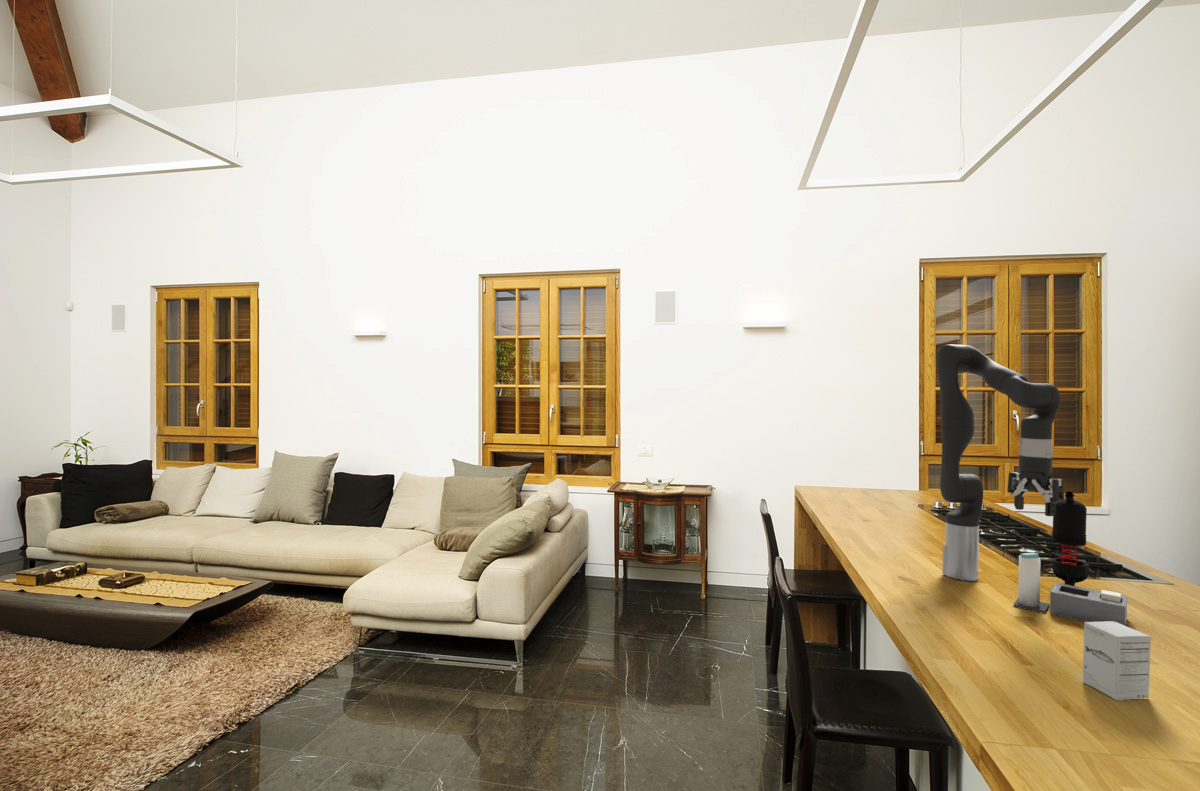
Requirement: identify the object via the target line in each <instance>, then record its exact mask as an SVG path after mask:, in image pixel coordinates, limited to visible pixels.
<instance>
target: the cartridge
mask: <svg viewBox="0 0 1200 791" xmlns="http://www.w3.org/2000/svg"><path fill="white" fill-rule="evenodd" d="M1039 555H1040V554H1039V553H1035V552H1024V553H1023V552H1021V553H1020V555H1018V593H1017V594H1018V596H1017V599H1018V602H1019V603H1020V604H1022V605H1026V606H1031V607H1039V606H1040V602H1041V601H1040V599H1041V598H1040V597H1041V596H1040V594H1041V558H1040V556H1039Z"/></svg>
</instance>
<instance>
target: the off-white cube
mask: <svg viewBox="0 0 1200 791" xmlns="http://www.w3.org/2000/svg"><path fill="white" fill-rule="evenodd" d="M1100 591H1101V599H1106V600H1111V601H1116V602H1121V595H1122V593H1121V592H1117V591H1110V590H1105V589H1101V590H1100Z"/></svg>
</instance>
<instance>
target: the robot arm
mask: <svg viewBox="0 0 1200 791" xmlns="http://www.w3.org/2000/svg"><path fill="white" fill-rule="evenodd" d="M935 362H936V363H935V364H936V372H937V378H938V385H939V398H940V431H941V434H940V435H941V464H940V476H939V477H940V480H939V488H940V494H941V496H942V498H943V500H944V501H945V502H947V503H956V504H957V503H959V506H958V507H957V508H955V509H953V510H951V511H948V512H946V514H945V525H944V526H945V527H944V530H945V534H944V536H945V537H944V538H945V539H944V544H943V546H942V576H945V575H946V576H945V577H948V578H951V579H955V580H958V579H959V580H960V581H965V580H966V581H968V582H971V581H972V582H974V581H977V580H978V579H979V551H980V550H979V546H980V545H979V544H980V542H979V539H980V521H981V518H982V513H983V504H984V503H983V502H984V501H983V500H984V485H983V481H982V480H981V478H980V477H979V476H978V475H976V474H973V473H960V462H961V458H962V456H963V455H964V452H965V451H966V449H967V447H968V446H969V444H970V443H971V441H972V439H973V438H974V434H975V415H974V414H975V413H974V411H973V408H972V405H970V403H969V401H968V400H967V398H966V397H965V395H964V393H963V391H962V390H961V387H960V384H959V373H960V374H965V373H967V374H973V375H977V376H980V377H981V378H982V379H983V380H984V382H985V383H986V384H987V385H988V386H989V387H990V388H991V389H994V391H995V390H996V391H997V392H1000V393H1001V394H1003V395H1006V396H1007V398H1009V399H1010V400H1011V401H1012V402H1013V403H1014V404H1015V405H1017V406H1019V407H1021V408H1024V409H1034V410H1033V411H1032V414H1031V415H1030V416H1026V417H1024V418H1022V419H1021V422H1020V438H1019V439H1020V440H1019V446H1018V471H1019V472H1018V471H1015V472H1014V471H1012V472H1011V471H1010V472H1008V479H1007V480H1008V481H1007V493H1010V494H1012V495H1013V496H1014V503H1013V504H1014V508H1015V510H1018V511H1019V510H1020V511H1021V510H1024V507H1025V506H1024V505H1025V496H1024V495H1025V494H1026V493H1027V492H1028V491H1032V492H1036V493H1038V494H1040V496H1042V497H1043V498H1044V500H1045V501H1046V502H1044V503H1045V504H1044V508H1045V509H1044V515H1045V516H1046V517H1053V515H1054V514H1055V505H1056V502H1059V501H1064V499H1065V491H1064V490H1065V489H1064V485H1065V484H1064V479H1063V478H1052V472H1053V461H1054V459H1053V454H1054V453H1053V450H1054V447H1053V440H1052V439H1053V423H1054V421H1055V418H1056V415H1057V412H1058V410H1059V406H1060V403H1061V394H1060V390H1059V388H1057V386H1055V385H1054V384H1052V383H1046V382H1044V383H1043V382H1042V383H1038V382H1029V380H1028V377H1026V376H1024V375H1023V374H1021V373H1019V372H1017V371H1015V370H1012V369H1010V368H1008V367H1005V366H1003V365H1001V364H1000V363H997V362H996V361H994V360H993V359H991V358H990V357H989V356H987V355H985V354H984V353H982V351H981V350H978V349H977V348H975V347H974V346H971V345H968V344H952V343H951V344H943V345H941V346H940V348H939V349H938V351H937V353H936V361H935Z"/></svg>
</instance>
